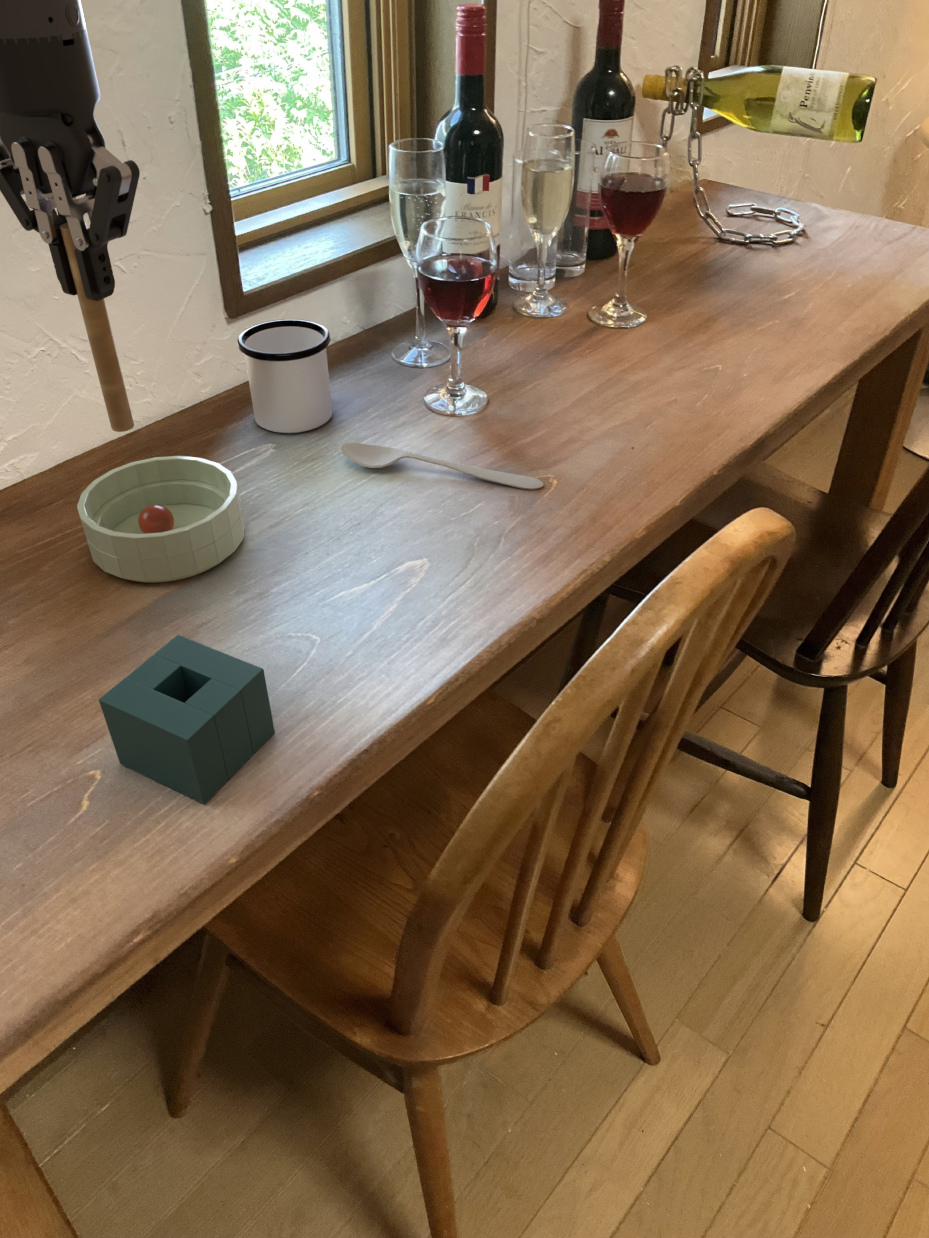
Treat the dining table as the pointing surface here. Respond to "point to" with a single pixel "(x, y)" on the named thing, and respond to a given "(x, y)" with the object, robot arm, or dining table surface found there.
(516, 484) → the spoon
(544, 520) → the dining table surface
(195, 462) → the bowl
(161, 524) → the ball
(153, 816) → the dining table surface
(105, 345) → the stick
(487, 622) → the dining table surface
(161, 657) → the holder
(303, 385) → the mug
